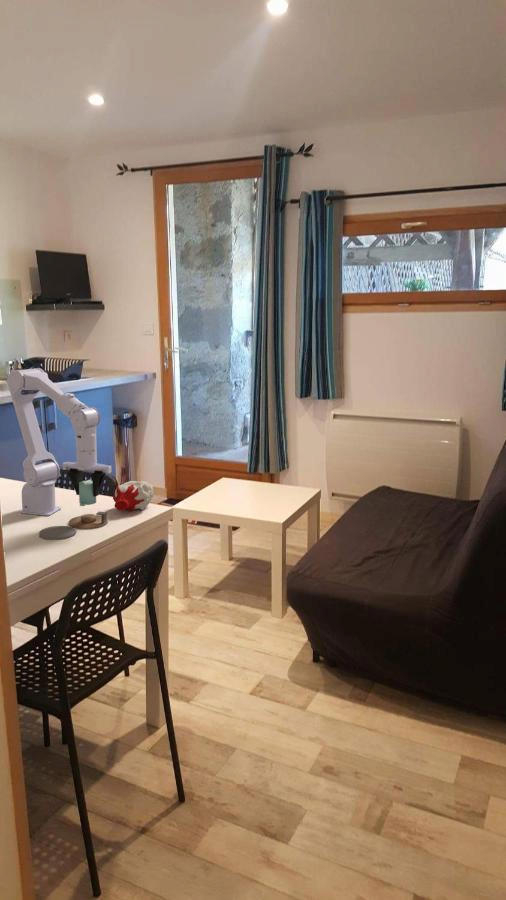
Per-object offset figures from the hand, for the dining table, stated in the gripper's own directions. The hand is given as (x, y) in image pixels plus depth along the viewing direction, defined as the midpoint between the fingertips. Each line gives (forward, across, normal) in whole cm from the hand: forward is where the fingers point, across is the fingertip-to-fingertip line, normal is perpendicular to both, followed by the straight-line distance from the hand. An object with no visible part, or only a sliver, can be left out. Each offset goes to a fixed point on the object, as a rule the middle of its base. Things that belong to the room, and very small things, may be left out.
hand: (87, 494), depth 192 cm
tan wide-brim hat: (+9, 0, 0) cm, 9 cm away
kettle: (+2, 0, 0) cm, 2 cm away
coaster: (+9, -4, -11) cm, 14 cm away
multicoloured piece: (+9, +7, +15) cm, 19 cm away
